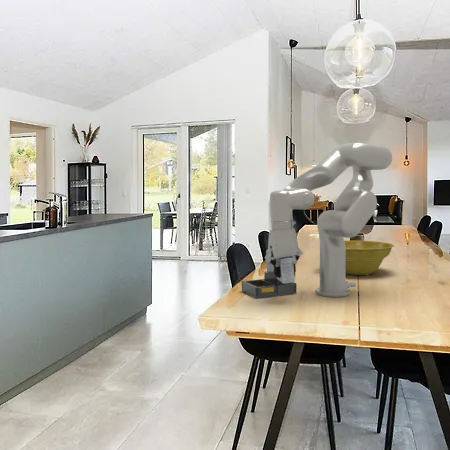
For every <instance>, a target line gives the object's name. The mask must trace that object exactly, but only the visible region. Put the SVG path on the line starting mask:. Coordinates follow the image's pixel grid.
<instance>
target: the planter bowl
mask: <svg viewBox="0 0 450 450" xmlns="http://www.w3.org/2000/svg"><path fill="white" fill-rule="evenodd" d="M344 242H345V246H346V274H347V275H352V276H354V275H355V276H365V275H371V274H374V273H375V272H376V271H378V269H379V268H380V266H381V265H382V262H383V260H384V259H385V258H387V257H388V256H389V255H390V254H391V252H392V248H394V247H395V245H394V244H393V243H389V242H384V241H373V240H344Z"/></svg>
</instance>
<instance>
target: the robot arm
mask: <svg viewBox="0 0 450 450" xmlns="http://www.w3.org/2000/svg"><path fill="white" fill-rule="evenodd" d="M392 162H393V154H392V152H391V150H390V149H389V148H387V147H385V146H382V145H377V144H370V143H365V142H364V143H363V142H353V143H344V144H343V143H342V144H340V145H338V146H336V147H335V148H334V149H332V150H331V151H330V153H328V154H327V156H326V157H324V158H323V159H322V160H321V161H320V162H318V164H317V165H315V166H314V167H312V168H311V169H309V170H307V171H305V172H304V173H302V174H300V175H298V176H297V177H296V178H294V179H293V180H291V182H289V183H288V184H287V185H286V186H285V187H284V188H283V189H282V190H274V191H271V192H270V194H269V204H270V217H271V229H270V230H269V232H268V240H267V241H268V242H267V243H268V245H267V246H268V247H267V250H268V253H267V255H266V254H265V256H264V259H265V261H266V260H267V261H269V262H270V263H271V264H272V265H273V266H274V275H275V276H276V277H278V278H280V277H281V270H280V267H279V262H280V258H286V257H291V258H292V259H293V265H294V275H295V276H296V271H297V267H296V264H297V263H298V260H299V259H300V257H301V256H302V255H303V254H304V253H303V251H302V249H301V248H300V247H299V243H298V237H297V232H296V229H295V228H294V226H295V225H296V223H297V222H296V220H294V218H293V210H301V211H302V210H307V209H309V208H311V207H312V206H313V205H314V203H315V195H314V192H312V191H314V190H317V189H320V188H323V187H327V186H328V185H330V184H332V183H334V182H335V181H336V180H337V179H338V177H340V176H341V175H342V174H343V173H344V172H345V171H346V170H347V169H348V168H350V167H352V178H351V180H350V181H349V183H348V184H347V185H346V186H345V188H344V189H343V190H342V192H340V194H339V195H338V196H337V199H336V202H335V207H336V209H337V210H334V209H330V210H326V211H323V212H321V213H320V214H319V216H318V218H317V221H316V222H317V223H316V224H317V231H318V238H319V287H318V288H316V289H315V293H316V294H317V295H318V296H323V297H329V298H330V297H331V298H340V297H347V296H349V295H350V288H354V287H355V288H356V286H357V283H356V282H355V281H351V282H349V281H347V280H346V246H345V242H344V241H345V240H344V238H345V239H346V238H349V239H350V238H351V239H352V238H354V237H355V236H357V235H358V234H359V233H360V232H361V231H362V230H363V228H364V227H365V226H366V224H367V223H368V221H369V220H370V219H371V217H373V215H374V213H375V211H376V209H377V205H378V200H377V196H376V194H375V193H374V192H372V189H373V186H374V179H373V176H372V171H377V170H378V171H380V170H385V169H387V168H388V167H390V165H391V164H392ZM271 257H274V258H273V260H272V259H271Z"/></svg>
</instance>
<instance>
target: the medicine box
mask: <svg viewBox="0 0 450 450" xmlns="http://www.w3.org/2000/svg"><path fill="white" fill-rule="evenodd" d="M279 267H280V270H281V277H280V278H278V277H277V279H278V280H279V281H281V282H282V283H283V284H285V283H296V281H295V280H296V279H295V277H294V265H293V259H292V258H291V257H286V258H280V262H279Z"/></svg>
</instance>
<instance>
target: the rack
mask: <svg viewBox="0 0 450 450" xmlns="http://www.w3.org/2000/svg"><path fill="white" fill-rule="evenodd" d="M263 275H264V278H261V279H259V278H258V279H249V280H242V281H241V292H242V293H244V292H245V293H244V294H246V293H247V295H248V294H249V296H250V295H251V297H252V296H253V297H252V298H254V297H255V299H264V297H265V298H273V297H280V296H282V297H283V296H289V295H297V289H298V288H297V283H296V282H294V283H285V284H283V283H282V282H281V281H279V280H278V279H277V277H276V276H275V275H274V271H271V272H267V271H264V273H263Z"/></svg>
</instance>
